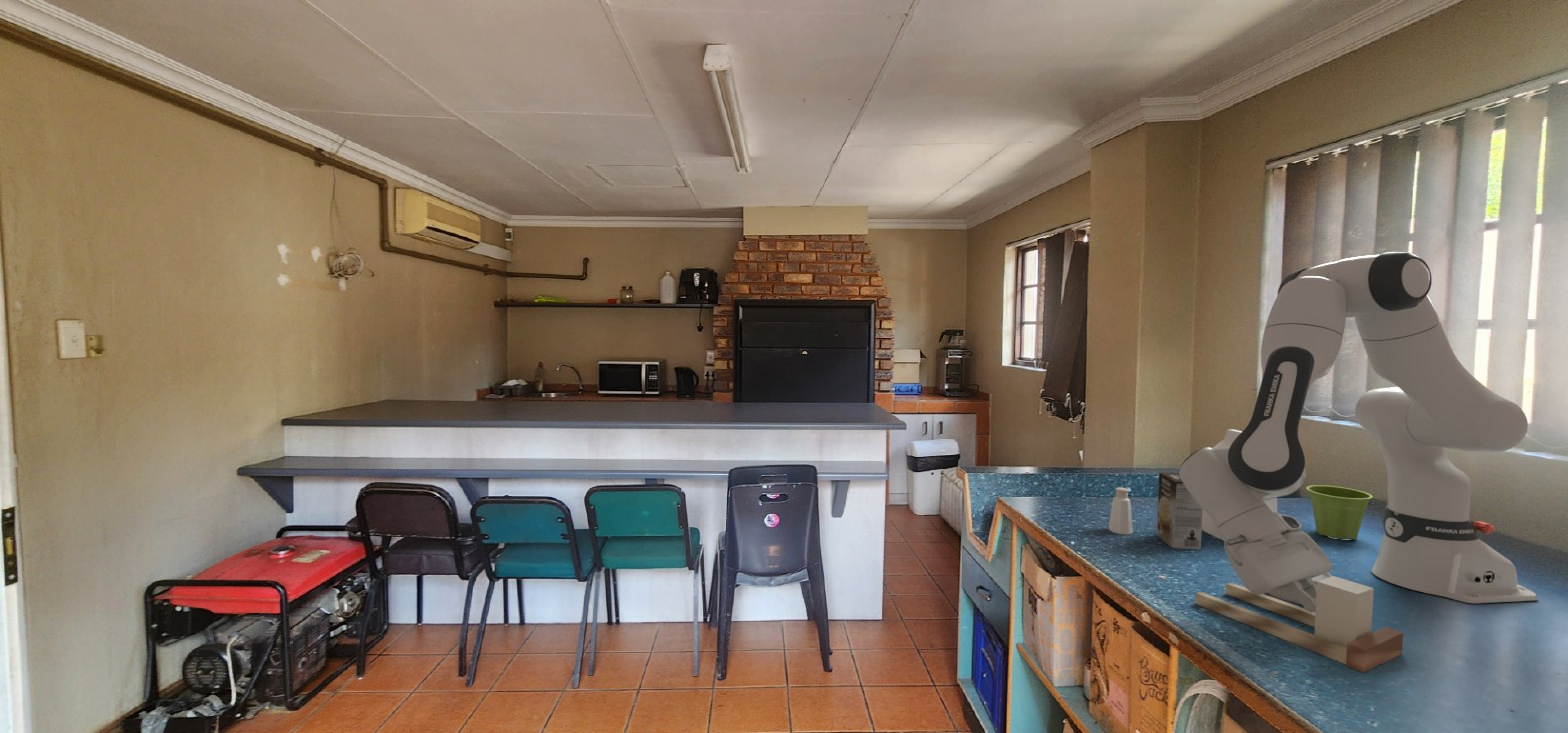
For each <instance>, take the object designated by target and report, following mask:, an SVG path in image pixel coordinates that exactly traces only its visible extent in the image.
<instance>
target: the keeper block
mask: <svg viewBox="0 0 1568 733" xmlns="http://www.w3.org/2000/svg"><path fill="white" fill-rule="evenodd" d="M1331 576H1332V577H1329V578H1326V579H1323V580H1320V581H1317V596H1316V611H1315V612H1316V614H1315V627H1314V634H1313V635H1315V636H1318V637H1321V638H1323V639H1326V640H1328V641H1331V642H1334V643H1336V644H1339V645H1341V646H1344V647H1347V643H1350V642H1352V641H1354V640H1357V639H1359V638H1361V637H1363V636H1366V635H1368V634H1370V633H1371V632H1372V629H1373V628H1372V627H1373V626H1372V625H1373V623H1372V622H1373V612H1374V610H1373V608H1374V593H1375V592H1374V591H1375V590H1374V589H1375V588H1374V587H1370V586H1368V585H1365V584H1361V583H1358V582H1354V581H1351V580H1349V579H1345V578H1341V577H1338V576H1335V575H1331Z"/></svg>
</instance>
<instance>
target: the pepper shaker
mask: <svg viewBox="0 0 1568 733" xmlns="http://www.w3.org/2000/svg"><path fill="white" fill-rule="evenodd" d="M1128 495H1129V489H1128V488H1125V487H1116V488H1115V496H1114V497H1113V498H1112V503H1111V510H1110V516H1109V524H1108V530H1109V531H1110V532H1111V531H1112V532H1111V533H1115V534H1118V535H1131V534H1133V533H1134V529H1133V518H1132V517H1133V516H1132V504H1131V499H1130V498H1129V497H1128Z"/></svg>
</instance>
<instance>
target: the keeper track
mask: <svg viewBox="0 0 1568 733" xmlns="http://www.w3.org/2000/svg"><path fill="white" fill-rule="evenodd" d="M1225 595H1227V596H1230V597H1233V598H1235V597H1236V598H1235V599H1238V598H1239V599H1238V600H1241V601H1244V602H1246V603H1250V604H1252V605H1255V606H1257V607H1259V608H1262V609H1265V610H1268V611H1271V612H1273V613H1275V614H1279V615H1282V616H1285V617H1287V618H1290V619H1292V620H1293V621H1294V620H1295V621H1297V622H1301V623H1303V624H1306V625H1308V626H1311V627H1313V628H1315V614H1316V611H1314V612H1308V611H1307V610H1306V609H1305V608H1304V607H1303V606H1302V607H1301V606H1298V605H1296V604H1294V603H1291V602H1288V601H1285V600H1282V599H1279V598H1276V597H1273V596H1271V595H1269V594H1266V593H1264V594H1261V595H1255V594H1253V593H1252V592H1250V591H1249V590H1248V589H1247V588H1246V586H1243V585H1239V584H1236V583H1233V582H1229V583H1226V584H1225ZM1194 599H1195V600H1194V601H1195V602H1194V604H1195V605H1198V606H1200V607H1203V608H1206V609H1208V610H1210V611H1213V612H1215V613H1218V614H1219V615H1223V616H1225V617H1227V618H1230V619H1233V620H1235V621H1238V622H1240V623H1243V624H1244V625H1247V626H1250V627H1253V628H1255V629H1257V630H1260V631H1262V632H1264V633H1267V634H1269V635H1272V636H1275V637H1278V638H1280V639H1282V640H1285V641H1287V642H1290V643H1293V644H1294V645H1297V646H1300V647H1302V648H1305V649H1307V650H1308V651H1309V650H1310V651H1312V652H1314V653H1318V654H1319V655H1322V656H1325V657H1327V658H1329V659H1332V660H1334V661H1336V660H1337V661H1336V662H1339V663H1342V664H1344V665H1345V666H1346V667H1348V668H1351V669H1353V670H1356V671H1358V672H1360V673H1362V674H1363V673H1366V672H1368V671H1371V670H1372V669H1374V668H1376V666H1377V667H1379V666H1380V664H1381V665H1382V664H1385V663H1387V662H1389V661H1390V660H1393V659H1395V658H1397V657H1400V656H1401V655H1403V640H1404V632H1402V631H1399V630H1396V629H1394V628H1390V627H1388V626H1385V627H1382V628H1380V629H1377V630H1375V631H1373V632H1372V631H1371V633H1370V634H1368V635H1366V636H1363V637H1361V638H1359V639H1357V640H1354V641H1352V642H1350V643H1347V647H1344V646H1341V645H1339V644H1336V643H1334V642H1331V641H1328V640H1326V639H1323V638H1321V637H1318V636H1315V635H1314V634H1313V633H1309V632H1307V631H1305V630H1302V629H1299V628H1297V627H1294V626H1292V625H1289V624H1286V623H1283V622H1281V621H1279V620H1276V619H1273V618H1271V617H1268V616H1265V615H1263V614H1259V613H1257V612H1255V611H1252V610H1249V609H1247V608H1245V607H1242V606H1241V605H1240V606H1239V605H1236V604H1234V603H1232V602H1229V601H1226V600H1224V599H1221V598H1218V597H1216V596H1213V595H1211V594H1208V593H1205V592H1202V591H1198V592H1195V597H1194ZM1378 665H1379V666H1378Z"/></svg>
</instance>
